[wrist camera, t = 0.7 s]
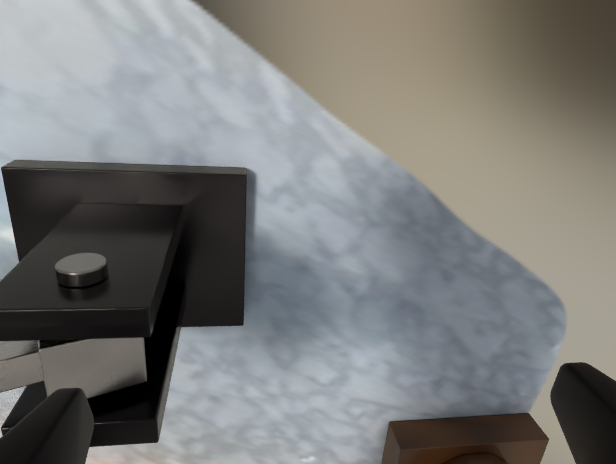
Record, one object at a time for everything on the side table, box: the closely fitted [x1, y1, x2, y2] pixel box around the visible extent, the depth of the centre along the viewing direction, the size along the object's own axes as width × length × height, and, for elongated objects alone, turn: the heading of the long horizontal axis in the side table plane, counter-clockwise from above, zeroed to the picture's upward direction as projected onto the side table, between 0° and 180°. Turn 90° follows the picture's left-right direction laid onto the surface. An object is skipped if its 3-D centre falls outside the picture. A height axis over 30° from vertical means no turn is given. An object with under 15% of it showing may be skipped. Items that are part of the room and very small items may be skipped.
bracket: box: [0, 160, 247, 447], centre depth 17 cm, size 10×8×10 cm
